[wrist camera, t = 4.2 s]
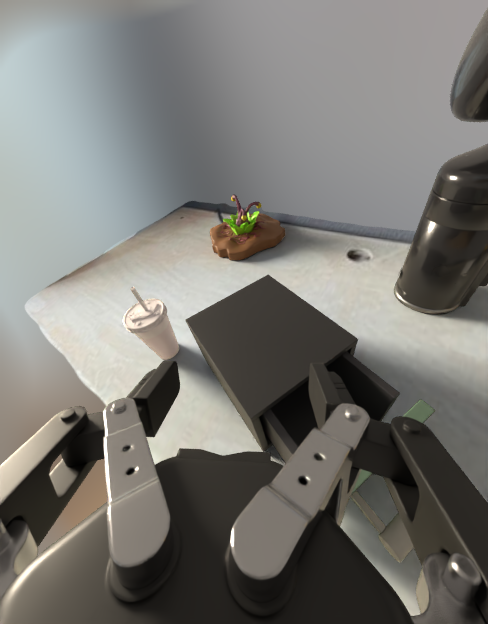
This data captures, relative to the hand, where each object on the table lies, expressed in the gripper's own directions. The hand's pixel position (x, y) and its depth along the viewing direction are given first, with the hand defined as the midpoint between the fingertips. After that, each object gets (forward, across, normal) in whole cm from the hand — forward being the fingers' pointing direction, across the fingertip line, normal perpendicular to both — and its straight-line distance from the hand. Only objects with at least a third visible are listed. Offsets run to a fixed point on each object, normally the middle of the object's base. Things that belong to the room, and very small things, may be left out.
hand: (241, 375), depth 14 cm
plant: (+56, +4, -8) cm, 57 cm away
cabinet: (+18, -2, +12) cm, 22 cm away
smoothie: (+24, +16, +11) cm, 31 cm away
